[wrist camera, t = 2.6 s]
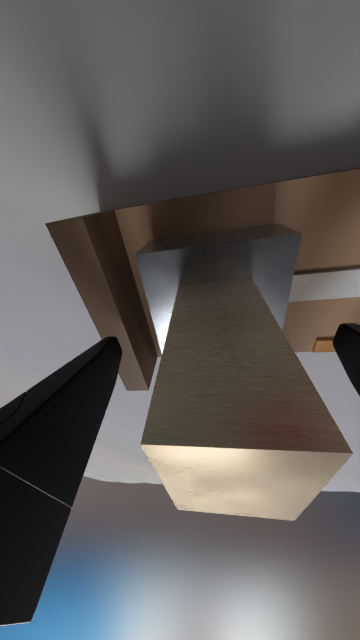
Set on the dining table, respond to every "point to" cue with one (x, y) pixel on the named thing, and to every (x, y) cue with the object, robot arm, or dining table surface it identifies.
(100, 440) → the dining table surface
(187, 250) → the handle
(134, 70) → the dining table surface
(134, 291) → the base
